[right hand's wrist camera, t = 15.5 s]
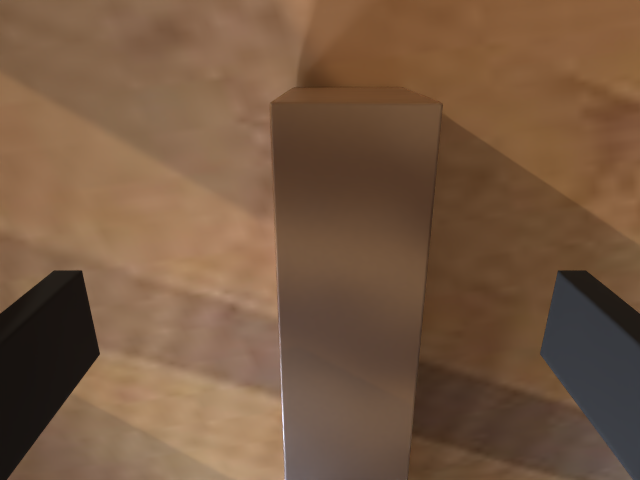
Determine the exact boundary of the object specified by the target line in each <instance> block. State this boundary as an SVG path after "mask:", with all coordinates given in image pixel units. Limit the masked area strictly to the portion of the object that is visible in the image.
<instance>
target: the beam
mask: <svg viewBox="0 0 640 480" xmlns="http://www.w3.org/2000/svg"><path fill="white" fill-rule="evenodd" d="M442 108H443V105H442V103H441V102H439V101H436V100H434V99H431V98H428V97H426V96H423V95H421V94H418V93H416V92H413V91H411V90H408V89H405V88H403V87H294V88H292V89H290V90H289V91H287V92H286V93H284V94H283V95H281V96H280V97H278V98H277V99H275V100H274V101H272V102H271V103H270V128H271V152H272V177H273V202H274V226H275V251H276V276H277V300H278V325H279V350H280V374H281V399H282V424H283V448H284V473H285V480H408V470H409V460H410V449H411V438H412V428H413V417H414V406H415V396H416V385H417V374H418V364H419V353H420V342H421V332H422V321H423V310H424V300H425V289H426V278H427V268H428V257H429V246H430V236H431V225H432V214H433V204H434V193H435V182H436V172H437V161H438V150H439V140H440V129H441V118H442Z"/></svg>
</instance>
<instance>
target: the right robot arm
mask: <svg viewBox="0 0 640 480" xmlns="http://www.w3.org/2000/svg"><path fill="white" fill-rule="evenodd" d="M99 355H100V352H99V347H98V343H97V338H96V334H95V329H94V324H93V320H92V315H91V310H90V306H89V301H88V296H87V292H86V287H85V283H84V278H83V273H82V271H53V272H52V273H50V274H49V275H48V276H47V277H46V278H44V279H43V280H42V281H41V282H39V283H38V284H37V285H36V286H34V287H33V288H32V289H31V290H29V291H28V292H27V293H26V294H24V295H23V296H22V297H21V298H19V299H18V300H17V301H16V302H14V303H13V304H12V305H11V306H9V307H8V308H7V309H6V310H4V311H3V312H2V313H1V314H0V480H7V479H8V477H9V476H10V475H11V473H12V472H13V471H14V469H15V468H16V467H17V465H18V464H19V463H20V461H21V460H22V458H23V457H24V456H25V454H26V453H27V452H28V450H29V449H30V448H31V446H32V445H33V444H34V442H35V441H36V440H37V438H38V437H39V436H40V434H41V433H42V431H43V430H44V429H45V427H46V426H47V425H48V423H49V422H50V421H51V419H52V418H53V417H54V415H55V414H56V413H57V411H58V410H59V409H60V407H61V406H62V405H63V403H64V402H65V400H66V399H67V398H68V396H69V395H70V394H71V392H72V391H73V390H74V388H75V387H76V386H77V384H78V383H79V382H80V380H81V379H82V378H83V376H84V375H85V374H86V372H87V371H88V369H89V368H90V367H91V365H92V364H93V363H94V361H95V360H96V359H97V357H98V356H99ZM540 355H541V356H542V357H543V359H544V360H545V361H546V363H547V364H548V365H549V367H550V368H551V369H552V371H553V372H554V374H555V375H556V376H557V378H558V379H559V380H560V382H561V383H562V384H563V386H564V387H565V388H566V390H567V391H568V392H569V394H570V395H571V396H572V398H573V399H574V400H575V402H576V403H577V405H578V406H579V407H580V409H581V410H582V411H583V413H584V414H585V415H586V417H587V418H588V419H589V421H590V422H591V423H592V425H593V426H594V427H595V429H596V430H597V432H598V433H599V434H600V436H601V437H602V438H603V440H604V441H605V442H606V444H607V445H608V446H609V448H610V449H611V450H612V452H613V453H614V454H615V456H616V457H617V458H618V460H619V461H620V463H621V464H622V465H623V467H624V468H625V469H626V471H627V472H628V473H629V475H630V476H631V477H632V479H633V480H640V314H639V313H638V312H637V311H636V310H634V309H633V308H632V307H631V306H629V305H628V304H627V303H626V302H624V301H623V300H622V299H621V298H619V297H618V296H617V295H616V294H614V293H613V292H612V291H611V290H609V289H608V288H607V287H606V286H604V285H603V284H602V283H601V282H599V281H598V280H597V279H596V278H594V277H593V276H592V275H591V274H590V273H588V272H587V271H558V273H557V278H556V283H555V287H554V292H553V296H552V301H551V306H550V310H549V315H548V320H547V324H546V329H545V334H544V338H543V343H542V347H541V352H540Z"/></svg>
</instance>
